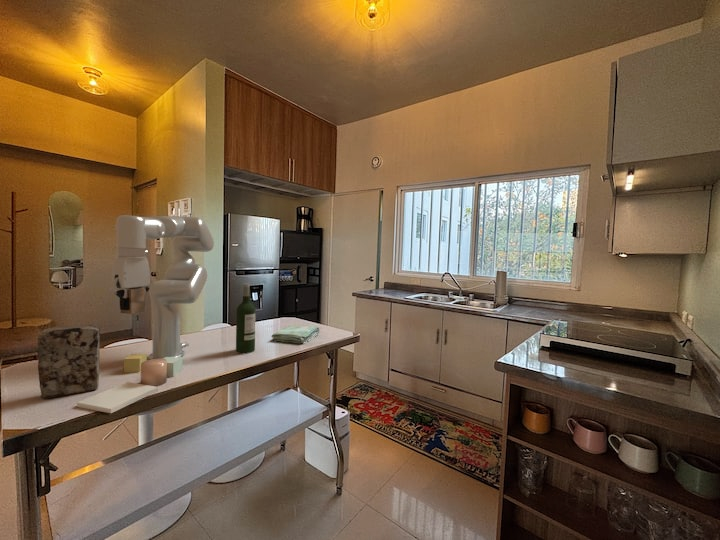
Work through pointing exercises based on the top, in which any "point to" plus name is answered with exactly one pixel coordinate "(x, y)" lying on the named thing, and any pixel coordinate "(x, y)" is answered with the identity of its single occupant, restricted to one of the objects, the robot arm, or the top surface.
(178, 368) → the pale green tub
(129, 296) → the walnut block
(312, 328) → the towel
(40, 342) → the stone block
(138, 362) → the mustard cube
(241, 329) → the wine bottle
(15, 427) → the top surface
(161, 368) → the peach rounded cube
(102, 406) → the cream board
